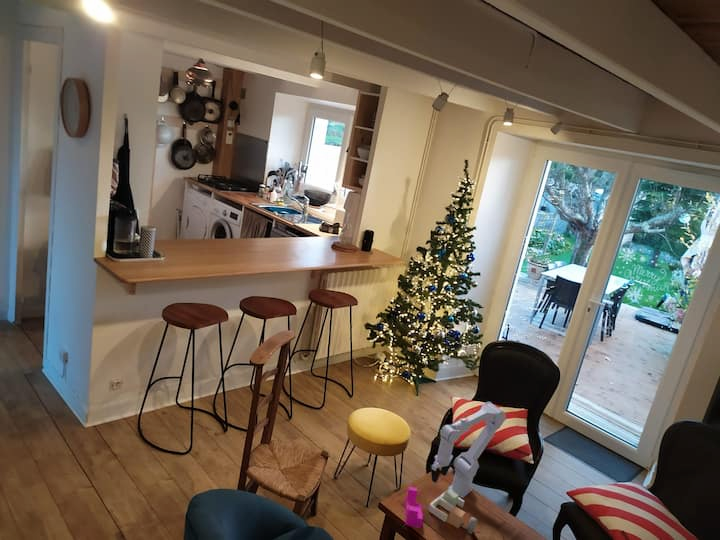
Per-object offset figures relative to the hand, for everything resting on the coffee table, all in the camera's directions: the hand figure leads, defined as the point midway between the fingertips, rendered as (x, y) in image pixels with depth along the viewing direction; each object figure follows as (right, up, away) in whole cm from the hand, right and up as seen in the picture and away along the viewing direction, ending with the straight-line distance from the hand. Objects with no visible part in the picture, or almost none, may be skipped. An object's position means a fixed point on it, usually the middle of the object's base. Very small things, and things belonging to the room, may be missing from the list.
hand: (438, 478), depth 236 cm
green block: (+4, -11, -1) cm, 12 cm away
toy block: (-13, -11, -11) cm, 20 cm away
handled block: (+8, -15, -13) cm, 21 cm away
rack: (+2, -12, -4) cm, 13 cm away
